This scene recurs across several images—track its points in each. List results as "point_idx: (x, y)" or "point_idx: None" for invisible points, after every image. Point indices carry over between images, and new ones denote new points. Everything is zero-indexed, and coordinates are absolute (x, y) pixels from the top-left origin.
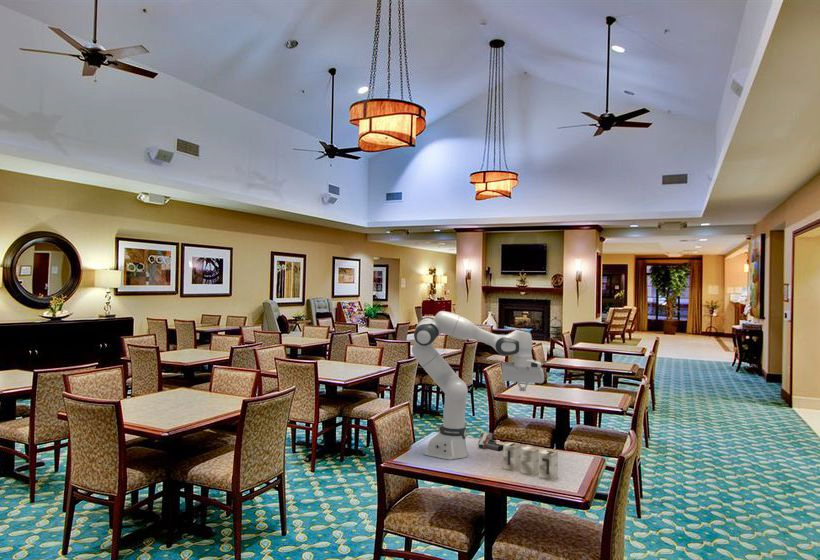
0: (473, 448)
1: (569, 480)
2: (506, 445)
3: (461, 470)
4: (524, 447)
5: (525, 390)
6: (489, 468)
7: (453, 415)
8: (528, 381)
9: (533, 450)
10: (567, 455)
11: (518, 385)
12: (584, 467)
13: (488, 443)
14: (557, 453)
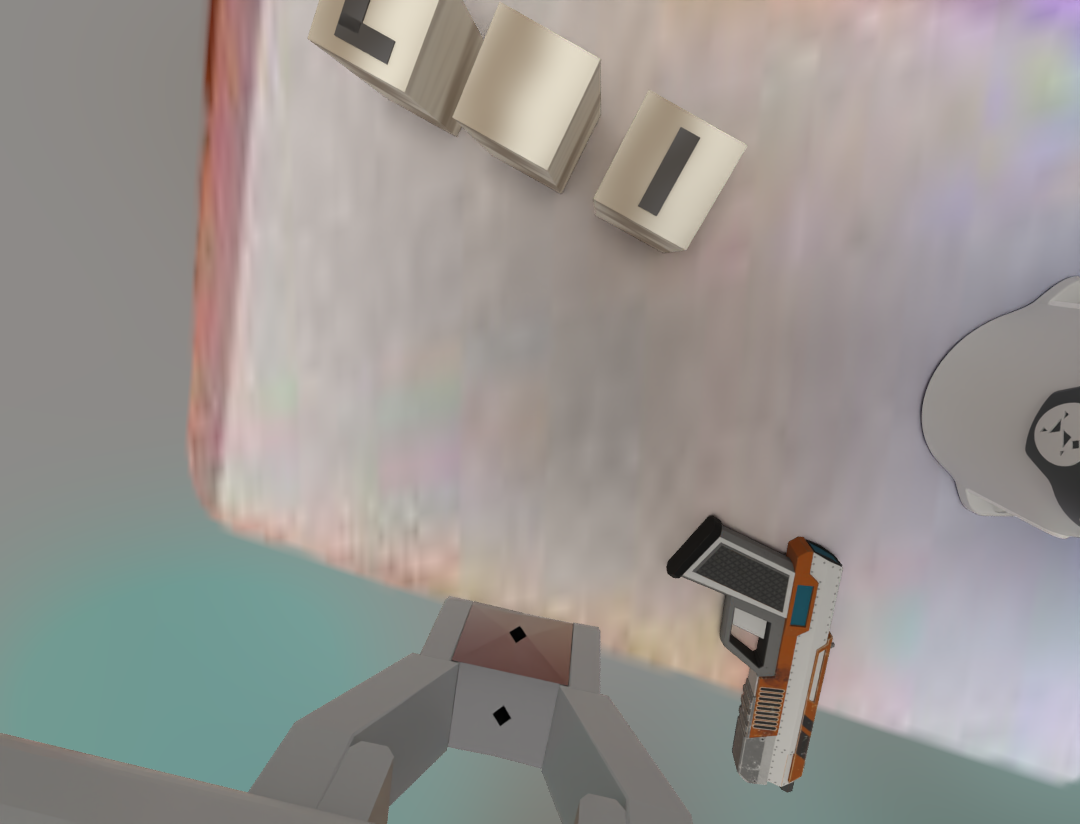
0: (868, 544)
1: (322, 55)
2: (720, 137)
3: (1009, 62)
4: (568, 114)
5: (442, 611)
6: (798, 162)
7: None
8: (146, 803)
9: (495, 36)
10: (340, 505)
11: (635, 752)
12: (253, 320)
13: (781, 575)
14: (313, 37)
